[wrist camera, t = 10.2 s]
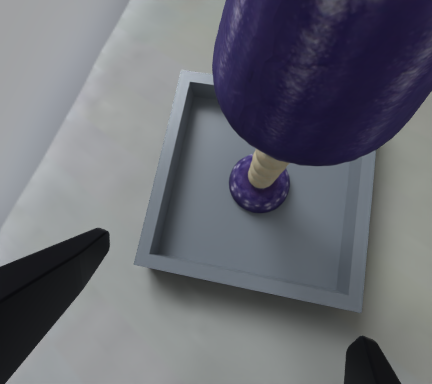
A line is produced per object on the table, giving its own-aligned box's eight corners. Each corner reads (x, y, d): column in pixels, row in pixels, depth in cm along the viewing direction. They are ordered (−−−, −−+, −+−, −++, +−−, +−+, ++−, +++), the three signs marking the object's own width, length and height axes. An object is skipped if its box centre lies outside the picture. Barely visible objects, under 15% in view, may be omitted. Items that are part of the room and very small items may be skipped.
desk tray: (146, 262, 19) (133, 264, 16) (187, 89, 21) (181, 70, 19) (343, 303, 18) (361, 313, 15) (362, 115, 20) (380, 97, 18)
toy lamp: (304, 205, 18) (859, -127, 2) (242, 233, 18) (333, 110, 2) (272, 146, 19) (482, -389, 3) (213, 172, 19) (115, -245, 3)
